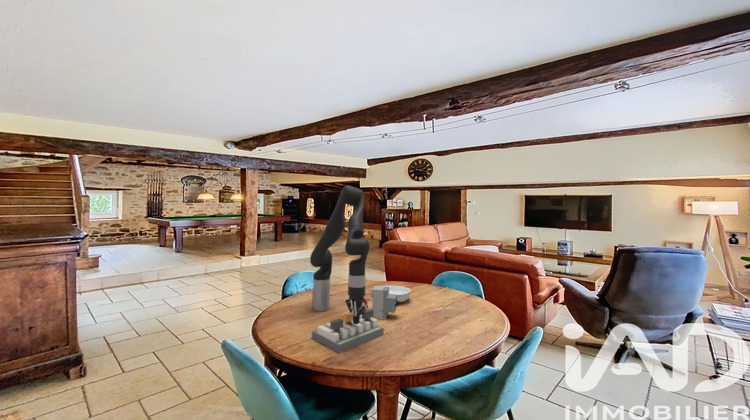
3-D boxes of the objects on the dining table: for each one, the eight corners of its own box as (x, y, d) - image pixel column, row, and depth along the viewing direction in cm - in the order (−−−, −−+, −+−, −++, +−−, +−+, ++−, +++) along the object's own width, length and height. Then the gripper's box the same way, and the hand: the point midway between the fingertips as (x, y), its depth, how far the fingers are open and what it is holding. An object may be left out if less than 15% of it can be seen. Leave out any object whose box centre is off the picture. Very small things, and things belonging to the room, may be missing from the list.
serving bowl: (416, 299, 201) (416, 288, 201) (400, 308, 183) (400, 296, 183) (387, 293, 212) (387, 283, 212) (369, 302, 195) (369, 290, 194)
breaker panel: (311, 338, 144) (312, 315, 143) (356, 322, 162) (356, 302, 161) (338, 353, 130) (339, 327, 130) (383, 334, 148) (383, 312, 148)
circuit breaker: (397, 320, 166) (398, 291, 165) (370, 317, 169) (371, 289, 168) (399, 315, 173) (400, 287, 173) (373, 313, 176) (373, 285, 176)
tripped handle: (342, 329, 145) (342, 314, 145) (350, 326, 148) (351, 311, 148) (345, 331, 143) (346, 315, 143) (354, 328, 147) (354, 313, 146)
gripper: (373, 286, 139) (372, 325, 140) (353, 280, 149) (352, 317, 149) (360, 289, 134) (359, 330, 135) (340, 282, 143) (339, 321, 144)
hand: (356, 323), depth 142 cm, fingers closed
